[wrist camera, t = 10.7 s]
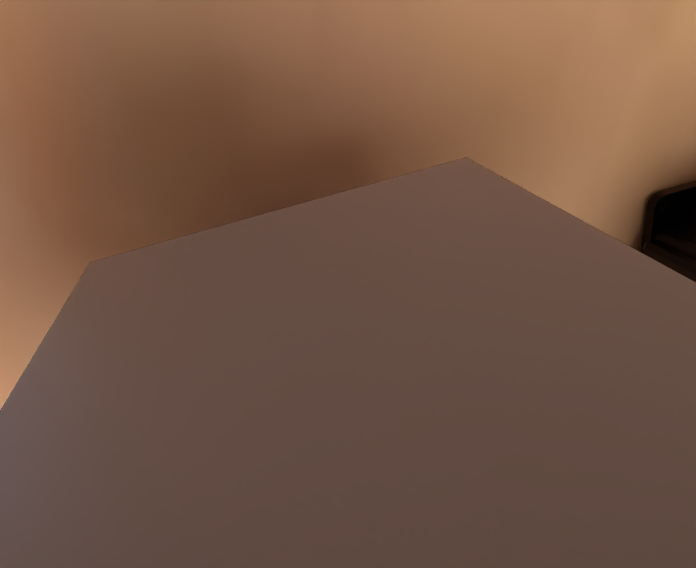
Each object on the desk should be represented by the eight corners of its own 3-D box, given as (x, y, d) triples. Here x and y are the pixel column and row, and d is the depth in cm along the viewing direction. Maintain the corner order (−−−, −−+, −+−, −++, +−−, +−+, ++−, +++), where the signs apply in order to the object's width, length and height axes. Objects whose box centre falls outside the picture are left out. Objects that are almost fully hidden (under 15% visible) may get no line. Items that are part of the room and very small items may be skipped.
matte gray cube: (465, 157, 10) (1325, 626, 2) (486, 418, 14) (810, 910, 6) (90, 262, 9) (-654, 1492, 1) (225, 503, 13) (216, 1177, 5)
